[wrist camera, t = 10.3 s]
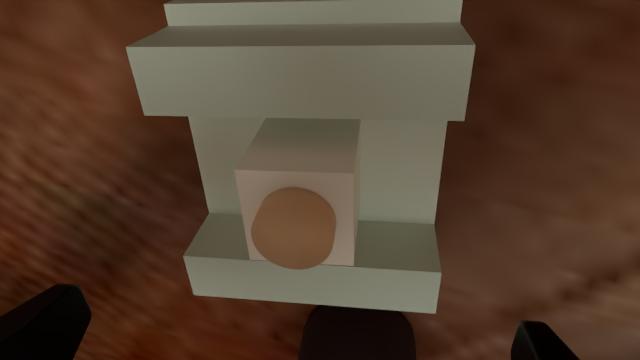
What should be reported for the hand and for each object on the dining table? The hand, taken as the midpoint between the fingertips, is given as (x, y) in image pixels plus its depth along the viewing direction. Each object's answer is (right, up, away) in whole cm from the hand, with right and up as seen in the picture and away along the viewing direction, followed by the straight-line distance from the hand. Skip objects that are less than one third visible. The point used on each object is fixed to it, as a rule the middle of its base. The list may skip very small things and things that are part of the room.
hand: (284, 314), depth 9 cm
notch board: (+1, +4, +11) cm, 12 cm away
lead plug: (+1, +4, +10) cm, 11 cm away
